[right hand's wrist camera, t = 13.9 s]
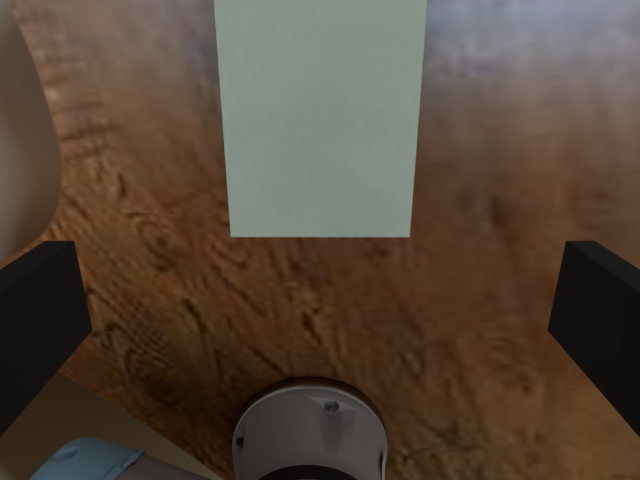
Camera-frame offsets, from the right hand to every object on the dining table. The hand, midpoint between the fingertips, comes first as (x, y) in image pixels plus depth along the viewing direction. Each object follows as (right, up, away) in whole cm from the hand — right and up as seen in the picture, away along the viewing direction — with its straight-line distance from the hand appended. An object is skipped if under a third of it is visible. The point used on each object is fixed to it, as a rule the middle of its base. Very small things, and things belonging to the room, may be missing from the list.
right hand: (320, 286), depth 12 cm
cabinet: (0, +14, +21) cm, 25 cm away
